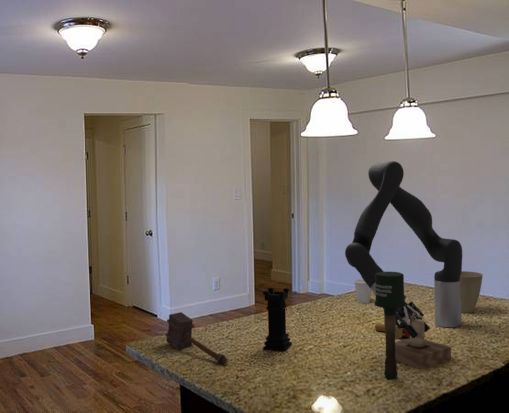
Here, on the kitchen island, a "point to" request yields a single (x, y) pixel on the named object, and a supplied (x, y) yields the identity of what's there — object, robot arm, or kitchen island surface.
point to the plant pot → (469, 290)
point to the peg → (420, 339)
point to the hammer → (187, 336)
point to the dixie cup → (362, 291)
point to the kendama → (398, 333)
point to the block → (422, 354)
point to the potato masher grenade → (390, 312)
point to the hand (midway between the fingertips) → (421, 333)
